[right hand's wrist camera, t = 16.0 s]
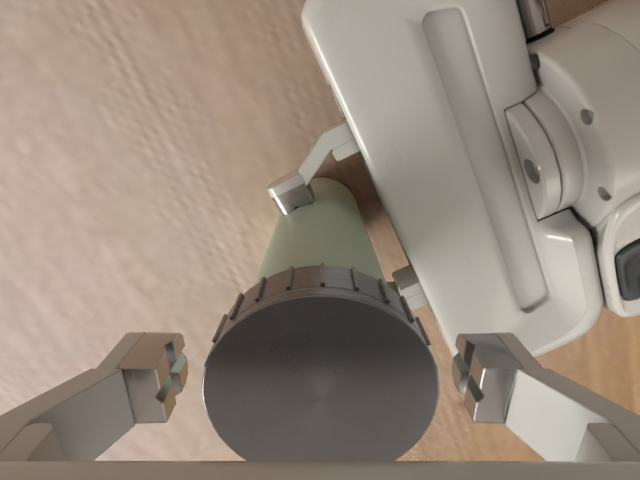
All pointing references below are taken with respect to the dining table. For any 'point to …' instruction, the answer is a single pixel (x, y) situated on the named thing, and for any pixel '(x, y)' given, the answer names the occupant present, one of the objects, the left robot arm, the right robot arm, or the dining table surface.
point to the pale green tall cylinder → (322, 234)
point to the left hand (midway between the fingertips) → (305, 253)
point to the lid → (320, 370)
